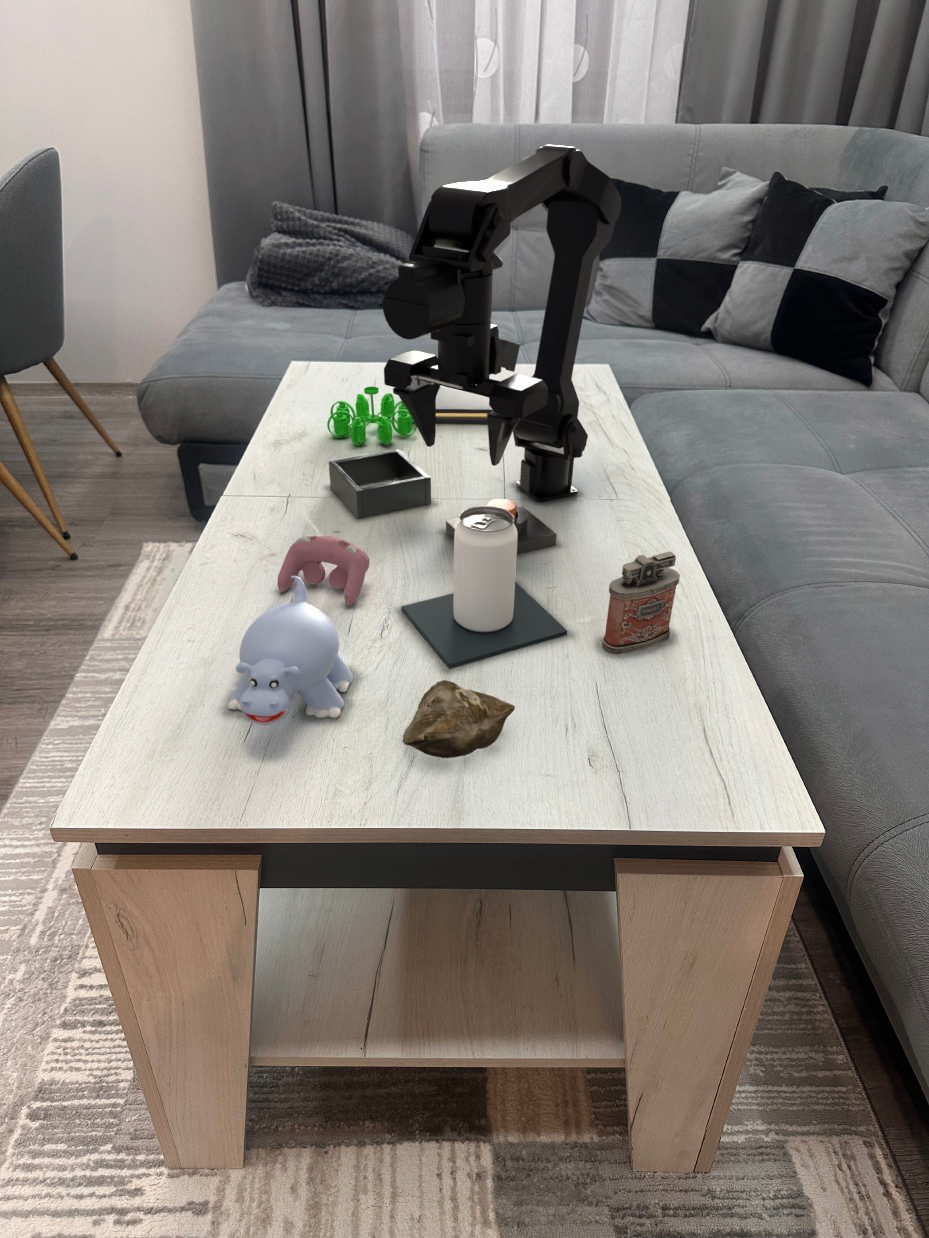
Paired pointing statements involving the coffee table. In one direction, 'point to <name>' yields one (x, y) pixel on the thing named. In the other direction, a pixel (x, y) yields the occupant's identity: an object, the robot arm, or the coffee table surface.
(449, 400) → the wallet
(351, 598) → the video game controller
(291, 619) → the hippopotamus toy
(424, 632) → the mat
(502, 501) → the button
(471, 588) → the can
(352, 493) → the box
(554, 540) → the button box
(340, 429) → the chandelier
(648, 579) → the lighter
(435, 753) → the fossilized seashell
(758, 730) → the coffee table surface
